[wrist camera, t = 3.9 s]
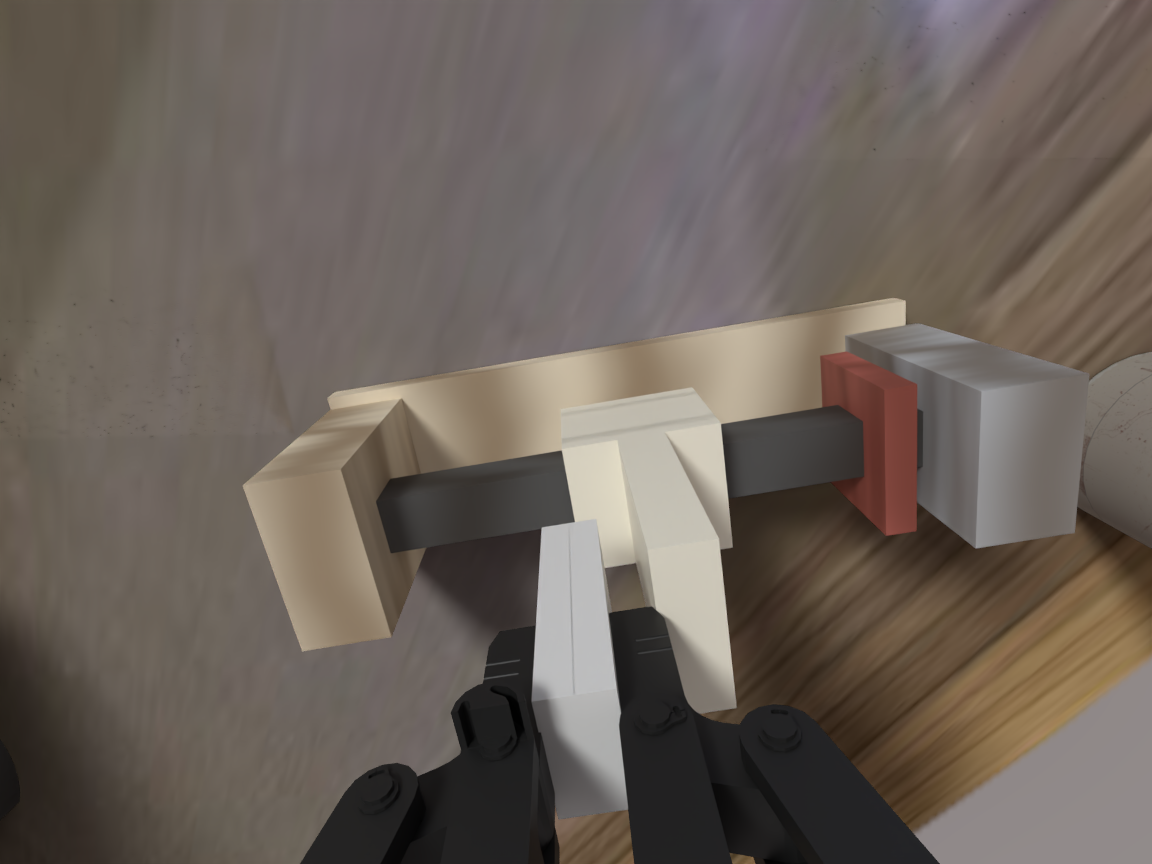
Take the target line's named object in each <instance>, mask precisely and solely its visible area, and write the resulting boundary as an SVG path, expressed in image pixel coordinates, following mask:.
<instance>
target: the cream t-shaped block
mask: <svg viewBox="0 0 1152 864" xmlns="http://www.w3.org/2000/svg"><path fill="white" fill-rule="evenodd" d="M561 442H562V454H563V459H564V465H565V470H566V475H567V481H568V486H569V492H570V497H571V503H572V508H573V514H574V519H575V522H579V521H585V520H592V519H596V520H597V526H598V532H599V538H600V544H601V549H602V555H603V561H604V567H605V568H608V567H615V566H621V565H627V564H633V563H636V565H637V570H638V574H639V578H640V583H641V587H642V591H643V596H644V600H645V604H646V607H651V606H652V607H653V608H654V609H655V610H656V611H658V612H659V613H660V614H661V615H662V616H663V617H664V618H665V621H666V625H667V629H668V633H669V637H670V641H671V644H672V649H673V652H674V656H675V660H676V664H677V667H678V671H679V675H680V679H681V683H682V687H683V690H684V694H685V697H686V699H687V702H688V704H689V705H690V706H691V707H692V708H693V709H694V711H696V712H697V713H699V714H700V713H707V712H713V711H720V710H726V709H733V708H737V707H736V697H735V688H734V678H733V669H732V659H731V650H730V640H729V630H728V621H727V611H726V602H725V592H724V583H723V573H722V564H721V554H720V549H727V548H733V543H732V533H731V523H730V513H729V502H728V492H727V482H726V472H725V461H724V451H723V441H722V431H721V423H720V421H719V420H718V419H717V418H716V416H715V415H714V414H713V413H712V411H711V410H710V409H709V408H708V406H707V405H706V404H705V403H704V401H703V400H702V399H701V398H700V396H699V395H698V394H697V393H696V391H695V390H694V389H693V388H692V387H691V388H685V389H679V390H673V391H667V392H661V393H655V394H649V395H643V396H637V397H631V398H625V399H619V400H613V401H607V402H601V403H595V404H589V405H583V406H577V407H571V408H565V409H561Z"/></svg>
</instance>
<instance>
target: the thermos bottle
mask: <svg viewBox="0 0 1152 864" xmlns="http://www.w3.org/2000/svg"><path fill="white" fill-rule="evenodd" d="M1077 507H1079V508H1080V509H1082V510H1083V511H1085V512H1087V513H1089V514H1090V515H1092V516H1094V517H1096V518H1098V519H1099V520H1101V521H1103V522H1105V523H1107V524H1108V525H1110V526H1112V527H1114V528H1116V529H1117V530H1119V531H1121V532H1123V533H1125V534H1126V535H1128V536H1130V537H1132V538H1134V539H1135V540H1137V541H1139V542H1141V543H1142V544H1144V545H1146V546H1148V547H1150V548H1151V549H1152V352H1148V353H1144V354H1139V355H1135V356H1131V357H1129V358H1126V359H1124V360H1122V361H1119V362H1117V363H1114V364H1113V365H1111V366H1109V367H1108V368H1106V369H1105V370H1103V371H1101V372H1100V373H1098V374H1097V375H1096V376H1094V377H1093V378H1092V379H1091V380H1090V381H1089V384H1088V395H1087V406H1086V417H1085V427H1084V438H1083V449H1082V460H1081V471H1080V481H1079V492H1078V503H1077Z"/></svg>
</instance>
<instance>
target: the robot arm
mask: <svg viewBox="0 0 1152 864" xmlns="http://www.w3.org/2000/svg"><path fill="white" fill-rule="evenodd" d="M486 665H487V667H486V668H485V674H484V680H483V684H480V685H477V686H476V687H474V688H472V689H470V690H469V691H467V692H465V693H464V694H463V695H462V696H461V697H460V698H459V699H458V700H457V701H456V703H455V705H454V707H453V709H452V711H451V715H452V719H453V722H454V726H455V729H456V733H457V736H458V740H459V744H460V747H461V753H460V755H458V756H457V757H456V758H454V759H453V760H452V761H450V762H449V763H447V764H445V765H443V766H441V767H439V768H437V769H434V770H432V771H429V772H427V773H425V774H422V775H420V776H418V777H417V775H416V773H415V772H414V771H413V770H412V769H411V768H410V767H409V766H406V765H402V764H398V763H394V764H385V765H381V766H379V767H376V768H374V769H372V770H369V771H367V772H366V773H365V774H363V775H362V776H361V777H359V778H358V779H356V780H355V781H354V782H353V783H352V785H351V786H350V787H349V788H348V789H347V791H346V792H345V793H344V795H343V796H342V798H341V799H340V801H339V803H338V804H337V806H336V807H335V809H334V811H333V812H332V814H331V815H330V817H329V819H328V820H327V822H326V823H325V825H324V827H323V828H322V830H321V831H320V833H319V835H318V836H317V838H316V839H315V841H314V843H313V844H312V846H311V847H310V849H309V851H308V852H307V854H306V855H305V857H304V859H303V860H302V862H301V863H300V864H559V843H558V839H557V834H556V830H555V806H556V811H557V815H558V819H565V818H572V817H579V816H586V815H593V814H600V813H607V812H614V811H620V810H627V809H628V811H629V820H630V829H631V838H632V847H633V856H634V864H732V861H731V857H730V854H729V853H735V854H740V855H746V856H751V857H754V860H755V863H756V864H940V863H938V861H937V860H936V859H935V858H934V857H933V856H932V854H931V853H930V852H929V851H928V850H927V849H926V847H924V845H923V844H922V843H921V842H920V841H919V839H918V838H917V837H916V836H915V835H914V834H913V833H912V831H911V830H910V829H909V828H908V827H907V826H906V825H905V823H904V822H903V821H902V820H901V819H900V818H899V817H898V815H897V814H896V813H895V812H894V811H893V810H892V809H891V807H890V806H889V805H888V804H887V803H886V802H885V800H884V799H883V798H882V797H881V796H880V795H879V794H878V792H877V791H876V790H875V789H874V788H873V787H872V786H871V784H870V783H869V782H868V781H867V780H866V779H865V778H864V776H863V775H862V774H861V773H860V772H859V771H858V770H857V768H856V767H855V766H854V765H853V764H852V763H851V762H850V760H849V759H848V758H847V757H846V756H845V755H844V754H843V752H842V751H841V750H840V749H839V748H838V747H837V746H836V744H835V743H834V742H833V741H832V740H831V739H830V738H829V736H828V735H827V734H826V733H825V732H824V731H823V729H822V728H821V727H820V726H819V725H818V724H817V723H816V721H814V720H813V719H812V718H811V717H810V716H808V715H807V714H806V713H805V712H803V711H800V710H798V709H795V708H793V707H790V706H784V705H774V704H773V705H768V706H762V707H758V708H757V709H755V710H753V711H751V712H749V713H748V714H747V715H746V716H745V718H744V719H743V720H742V722H741V723H740V725H738V724H729V723H722V722H718V721H713V720H710V719H708V718H706V717H703V716H702V715H700V714H699V713H697V712H696V711H694V709H693V708H692V707H691V706H690V705H689V704H688V702H687V699H686V697H685V694H684V690H683V687H682V683H681V679H680V675H679V671H678V667H677V664H676V660H675V656H674V652H673V649H672V644H671V641H670V637H669V633H668V629H667V625H666V621H665V618H664V617H663V616H662V615H661V614H660V613H659V612H658V611H656V610H655V609H654V608H653V607H652V606H651V607H644V608H638V609H631V610H625V611H618V612H612V609H611V602H610V596H609V591H608V585H607V579H606V573H605V567H604V561H603V555H602V549H601V544H600V538H599V532H598V526H597V520H596V519H592V520H585V521H579V522H573V523H567V524H560V525H554V526H548V527H542V531H541V548H540V565H539V582H538V599H537V616H536V626H532V627H525V628H519V629H512V630H506V631H500V632H499V634H498V635H497V637H496V638H495V639H494V641H493V642H492V644H491V645H490V646H489V650H488V656H487V662H486ZM19 801H20V788H19V781H18V776H17V773H16V770H15V766H14V764H13V761H12V759H11V757H10V755H9V753H8V751H7V749H6V748H5V746H4V744H3V743H2V741H1V740H0V820H1V819H2V818H3V817H4V816H5V815H6V814H7V813H8V812H9V811H10V810H11V809H12V808H13V807H14V806H15V805H16V804H17V803H18V802H19Z"/></svg>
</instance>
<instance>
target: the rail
mask: <svg viewBox="0 0 1152 864" xmlns="http://www.w3.org/2000/svg"><path fill="white" fill-rule="evenodd" d="M1088 384H1089V374H1088V373H1085V372H1082V371H1078V370H1075V369H1071V368H1068V367H1065V366H1061V365H1058V364H1055V363H1051V362H1048V361H1044V360H1041V359H1038V358H1034V357H1031V356H1027V355H1024V354H1021V353H1017V352H1014V351H1010V350H1007V349H1004V348H1000V347H997V346H994V345H990V344H987V343H983V342H980V341H977V340H973V339H970V338H966V337H963V336H960V335H956V334H953V333H949V332H946V331H943V330H939V329H936V328H933V327H929V326H926V325H922V324H919V323H916V324H910V325H906V301H904V300H900V299H896V298H890V299H884V300H878V301H872V302H866V303H860V304H854V305H848V306H842V307H836V308H830V309H825V310H819V311H813V312H807V313H801V314H795V315H789V316H783V317H777V318H771V319H765V320H759V321H753V322H748V323H742V324H736V325H730V326H724V327H718V328H712V329H706V330H700V331H694V332H688V333H682V334H676V335H670V336H665V337H659V338H653V339H647V340H641V341H635V342H629V343H623V344H617V345H611V346H605V347H599V348H593V349H587V350H582V351H576V352H570V353H564V354H558V355H552V356H546V357H540V358H534V359H528V360H522V361H516V362H510V363H505V364H499V365H493V366H487V367H481V368H475V369H469V370H463V371H457V372H451V373H445V374H439V375H433V376H427V377H422V378H416V379H410V380H404V381H398V382H392V383H386V384H380V385H374V386H368V387H362V388H356V389H350V390H345V391H339V392H335V393H333V394H332V395H331V396H330V397H328V398H327V399H328V402H329V406H330V409H331V410H330V411H329V412H328V413H326V414H325V415H324V416H323V417H322V418H321V419H319V420H318V421H317V422H316V423H315V424H314V425H312V426H311V427H310V428H309V429H308V430H307V431H305V432H304V433H303V434H302V435H301V436H300V437H298V438H297V439H296V440H295V441H294V442H293V443H292V444H290V445H289V446H288V447H287V448H286V449H285V450H283V451H282V452H281V453H280V454H279V455H278V456H276V457H275V458H274V459H273V460H272V461H271V462H269V463H268V464H267V465H266V466H265V467H264V468H262V469H261V470H260V471H259V472H258V473H257V474H255V475H254V476H253V477H252V478H251V479H250V480H249V481H247V482H246V483H245V484H244V485H243V488H244V491H245V493H246V496H247V499H248V502H249V504H250V507H251V510H252V513H253V516H254V518H255V521H256V524H257V527H258V530H259V532H260V535H261V538H262V541H263V543H264V546H265V549H266V552H267V555H268V557H269V560H270V563H271V566H272V569H273V571H274V574H275V577H276V580H277V583H278V585H279V588H280V591H281V594H282V596H283V599H284V602H285V605H286V608H287V610H288V613H289V616H290V619H291V622H292V624H293V627H294V630H295V633H296V635H297V638H298V641H299V644H300V647H301V649H302V651H307V650H313V649H319V648H325V647H332V646H338V645H344V644H351V643H357V642H363V641H369V640H376V639H382V638H388V637H392V634H393V632H394V629H395V627H396V624H397V622H398V619H399V616H400V614H401V611H402V609H403V606H404V604H405V601H406V599H407V596H408V593H409V591H410V588H411V586H412V583H413V581H414V578H415V575H416V573H417V570H418V568H419V565H420V563H421V560H422V557H423V555H424V552H425V550H426V548H427V547H433V546H440V545H446V544H452V543H458V542H464V541H470V540H476V539H483V538H489V537H495V536H501V535H507V534H513V533H520V532H526V531H532V530H538V529H542V527H548V526H554V525H560V524H567V523H573V522H575V519H574V514H573V508H572V503H571V497H570V492H569V486H568V481H567V475H566V470H565V465H564V459H563V454H562V442H561V409H565V408H571V407H577V406H583V405H589V404H595V403H601V402H607V401H613V400H619V399H625V398H631V397H637V396H643V395H649V394H655V393H661V392H667V391H673V390H679V389H685V388H691V387H692V388H693V389H694V390H695V391H696V393H697V394H698V395H699V396H700V398H701V399H702V400H703V401H704V403H705V404H706V405H707V406H708V408H709V409H710V410H711V411H712V413H713V414H714V415H715V416H716V418H717V419H718V420H719V421H720V423H721V431H722V441H723V451H724V461H725V472H726V482H727V492H728V499H729V498H735V497H741V496H747V495H753V494H760V493H766V492H772V491H778V490H784V489H790V488H797V487H803V486H809V485H815V484H821V483H827V482H831V483H832V484H833V485H834V486H835V487H836V488H837V489H838V490H839V491H840V492H841V493H842V494H843V495H844V496H845V497H846V498H847V499H848V500H849V501H850V502H852V503H853V504H854V505H855V506H856V507H857V508H858V509H859V510H860V511H861V512H862V513H863V514H864V515H865V516H866V517H867V518H868V519H869V520H870V521H871V522H872V523H873V524H874V525H875V526H876V527H877V528H878V529H879V530H880V531H882V532H883V533H884V534H885V535H886V536H889V535H895V534H901V533H907V532H914V531H917V503H919V504H920V505H921V506H922V507H924V508H925V509H926V510H928V511H929V512H930V513H931V514H933V515H934V516H935V517H936V518H938V519H939V520H940V521H941V522H943V523H944V524H945V525H946V526H948V527H949V528H950V529H952V530H953V531H954V532H955V533H957V534H958V535H959V536H960V537H962V538H963V539H964V540H965V541H967V542H968V543H969V544H971V545H972V546H973V547H974V548H982V547H988V546H995V545H1001V544H1007V543H1014V542H1020V541H1026V540H1032V539H1039V538H1045V537H1051V536H1058V535H1064V534H1070V533H1075V524H1076V514H1077V503H1078V492H1079V481H1080V471H1081V460H1082V449H1083V438H1084V427H1085V417H1086V406H1087V395H1088Z"/></svg>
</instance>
